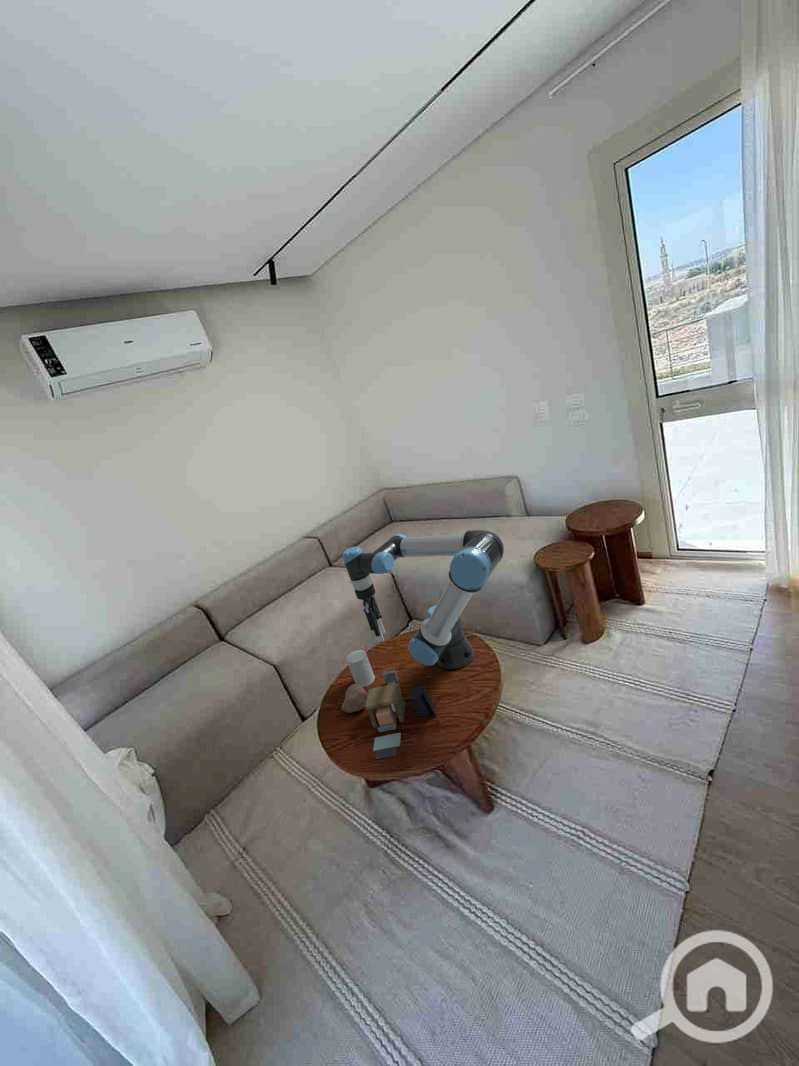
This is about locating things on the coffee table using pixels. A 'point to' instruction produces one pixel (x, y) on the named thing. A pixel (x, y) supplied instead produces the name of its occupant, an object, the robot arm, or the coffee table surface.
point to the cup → (360, 668)
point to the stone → (354, 698)
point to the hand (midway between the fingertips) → (381, 637)
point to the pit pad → (386, 753)
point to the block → (385, 715)
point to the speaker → (421, 701)
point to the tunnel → (385, 701)
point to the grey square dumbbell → (390, 679)
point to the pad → (387, 741)
